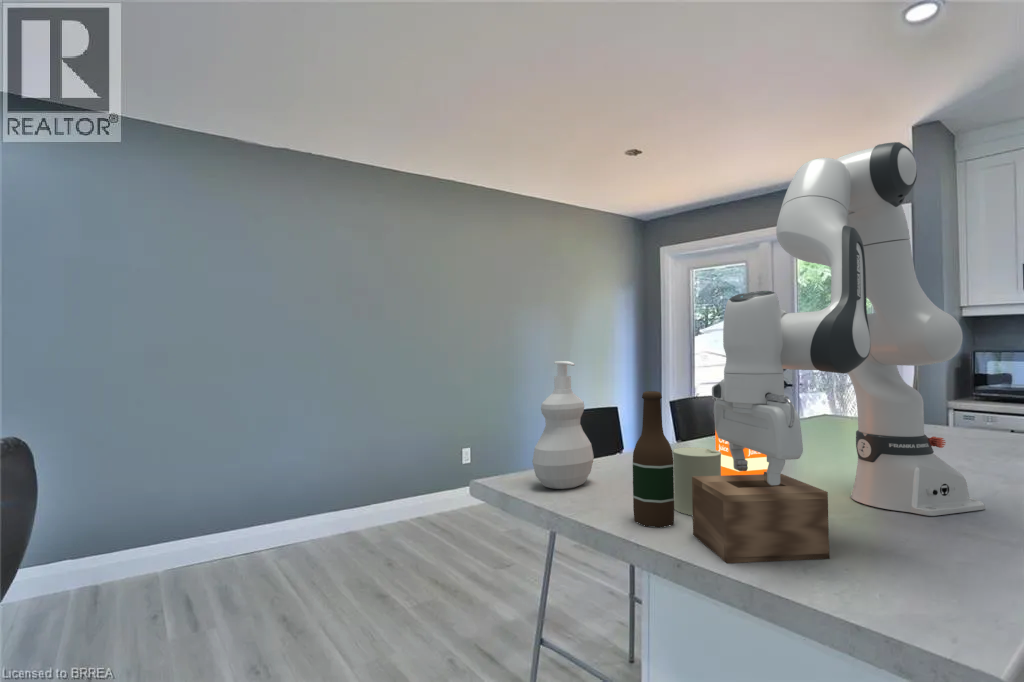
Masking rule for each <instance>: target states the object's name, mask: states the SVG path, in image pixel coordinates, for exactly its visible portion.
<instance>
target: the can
mask: <svg viewBox="0 0 1024 682" xmlns="http://www.w3.org/2000/svg"><path fill="white" fill-rule="evenodd" d="M672 452H673V469H674V511H676V510H677V511H678V512H677V511H676V512H677V513H680V512H681V513H680V514H682V513H684V514H683V515H686V514H688V515H687V516H691V515H693V506H692V476H721V452H720V451H717V450H716V449H713V448H707V447H706V448H705V447H694V446H693V447H689V446H688V447H679V448H674V449H672Z"/></svg>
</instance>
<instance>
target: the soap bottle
mask: <svg viewBox="0 0 1024 682" xmlns="http://www.w3.org/2000/svg"><path fill="white" fill-rule="evenodd" d="M554 365H557V376H554V377H553V378H554V382H553V383H554V388H553V391H552V393H551V394H550V395H548V396H547V397H546V398H545V399H544V400H543V402H541V405H540V411H541V415H542V416H543V418H544V419H545V427H544V429H543V432H542V434H541V436H540V437H539V439H538V441H537V443H536V444H535V446H534V449H533V457H532V467H533V471H534V474H535V477H536V478H537V480H538V481H539V482H540V483H541V484H542V485H543V486H544V487H546V488H550V489H555V490H568V489H573V488H577V487H578V486H582V485H583V484H585V482H586V480H587V479H588V477H589V476H590V474H591V472H592V468H593V462H594V459H595V458H594V457H595V456H594V451H593V447H592V446H593V445H592V442H591V441H590V439H589V438H588V436H587V434H586V433H585V431H584V430H583V427H582V425H581V418H582V416H583V413H584V411H585V404H584V401H583V400H582V399H581V397H579V396H578V395H576V394H575V393H574V392H573V390H572V386H571V384H572V383H571V382H572V380H571V379H572V378H571V376H570V375H568V366H575V365H576V364H575V363H574V362H572V361H568V360H564V361H563V360H559V361H557V360H556V361H554Z"/></svg>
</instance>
